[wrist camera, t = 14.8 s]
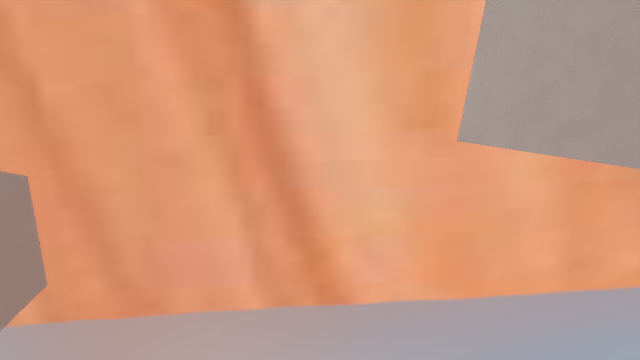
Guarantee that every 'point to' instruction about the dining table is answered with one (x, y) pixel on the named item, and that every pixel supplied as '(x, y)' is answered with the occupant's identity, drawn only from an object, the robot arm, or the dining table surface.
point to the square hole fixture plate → (557, 80)
